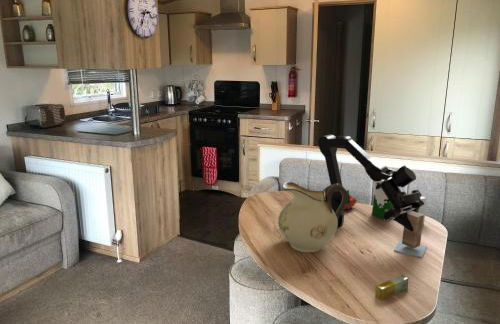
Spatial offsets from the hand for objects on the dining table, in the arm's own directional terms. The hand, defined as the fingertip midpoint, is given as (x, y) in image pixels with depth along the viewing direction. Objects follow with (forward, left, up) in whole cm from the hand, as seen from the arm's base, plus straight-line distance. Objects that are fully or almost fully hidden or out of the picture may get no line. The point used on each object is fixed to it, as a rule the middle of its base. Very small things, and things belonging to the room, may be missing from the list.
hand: (416, 229), depth 146 cm
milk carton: (-18, +29, -9) cm, 35 cm away
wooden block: (-1, +1, -7) cm, 7 cm away
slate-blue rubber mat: (-1, +1, -8) cm, 9 cm away
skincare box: (-4, +29, -9) cm, 30 cm away
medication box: (-1, -33, -9) cm, 34 cm away
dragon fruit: (-36, +29, -9) cm, 47 cm away
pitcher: (-36, -16, -9) cm, 41 cm away
